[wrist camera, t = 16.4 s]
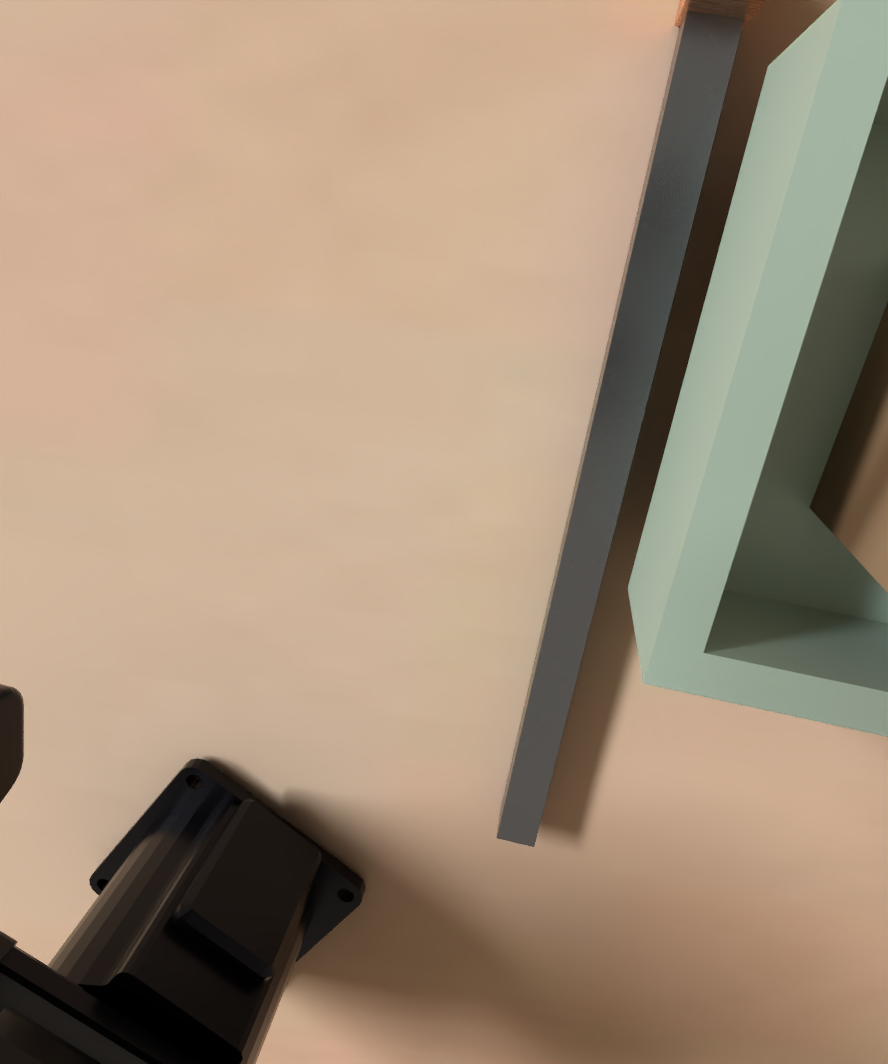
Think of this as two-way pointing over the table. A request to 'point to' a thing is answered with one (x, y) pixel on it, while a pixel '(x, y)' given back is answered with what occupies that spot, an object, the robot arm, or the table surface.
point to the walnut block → (861, 467)
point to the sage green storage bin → (779, 406)
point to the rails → (623, 389)
